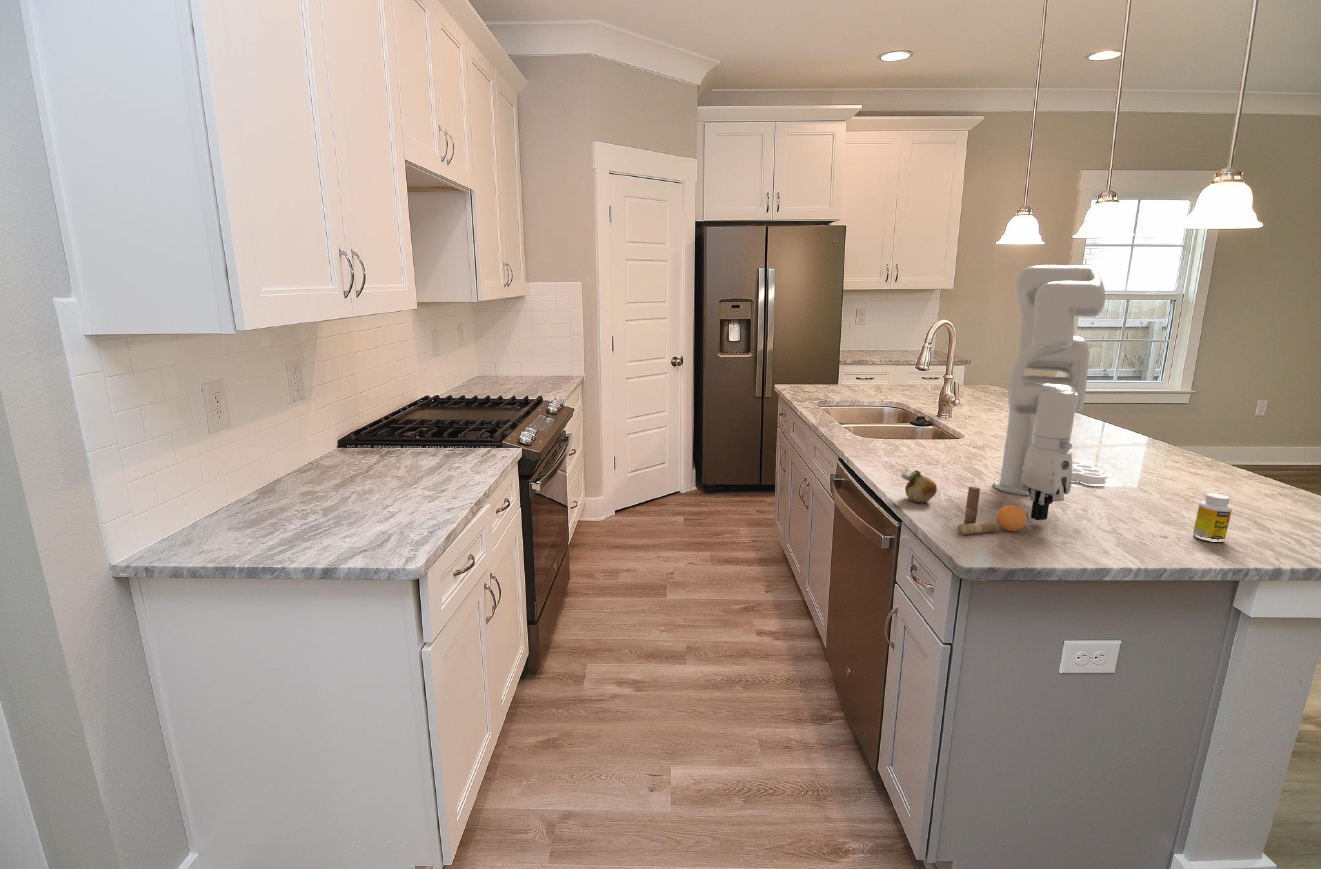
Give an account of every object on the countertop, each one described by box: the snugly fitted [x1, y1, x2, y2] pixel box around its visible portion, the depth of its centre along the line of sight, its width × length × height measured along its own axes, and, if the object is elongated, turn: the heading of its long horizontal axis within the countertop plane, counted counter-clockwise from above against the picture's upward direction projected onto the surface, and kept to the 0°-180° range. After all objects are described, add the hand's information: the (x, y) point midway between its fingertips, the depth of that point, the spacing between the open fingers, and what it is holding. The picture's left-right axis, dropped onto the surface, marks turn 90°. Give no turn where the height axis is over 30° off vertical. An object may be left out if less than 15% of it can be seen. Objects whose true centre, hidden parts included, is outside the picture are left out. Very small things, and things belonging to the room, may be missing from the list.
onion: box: [901, 469, 938, 504], centre depth 167 cm, size 8×8×8 cm
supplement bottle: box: [1192, 492, 1233, 540], centre depth 144 cm, size 6×6×10 cm
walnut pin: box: [963, 486, 981, 524], centre depth 150 cm, size 2×2×9 cm
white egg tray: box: [1072, 460, 1109, 484], centre depth 191 cm, size 3×18×15 cm
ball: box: [996, 504, 1027, 532], centre depth 148 cm, size 6×6×6 cm
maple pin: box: [957, 520, 999, 536], centre depth 147 cm, size 2×2×9 cm
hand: (1038, 518), depth 152 cm, fingers closed
